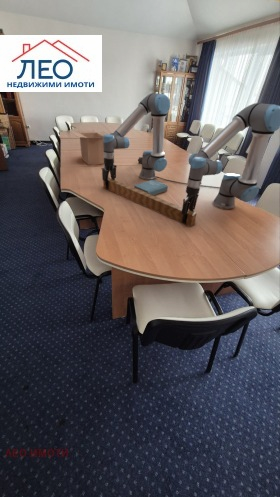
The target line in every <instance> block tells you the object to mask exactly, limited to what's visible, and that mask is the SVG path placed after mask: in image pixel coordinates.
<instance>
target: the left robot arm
mask: <svg viewBox="0 0 280 497" xmlns="http://www.w3.org/2000/svg"><path fill="white" fill-rule="evenodd" d="M170 109H171V100H170V97H168V96H167V95H166V94H163V93H156V92H151V93H149V94H147V95H146V96H145V97H143V99H141V100H140V102H139V103H138V104H137V107H136V108H135V109H134V110H133V111H132V112H131V113H130V114H129V115H128V117H126V119H125V120H124V121H123V122H122V123H121V124H120V125H119V126H118V127H117V128H116V129H115V130H114V131H113V132H110V133H107V134H105V135H104V136H103V146H104V164H103V165H104V166H103V167H100V169H101V175H102V176H101V178H102V182H103V181H105V185H106V189H105V190H108V189H109V184H108V178H109V176H110V178H111V179H113V180H116V179H117V165H116V164H115V150H123V149H124V150H126V149H128V148H129V147H130V139H129V137H126V135H127V134H128V133H129V132H130V131H131V130H132V129H133V128H134V127H135V126H136V125H137V124H138V123H139V122H140V121H141V120H142V119H143V118H144V117H145V116H147V115H148V114H150V117H151V118H152V150H144V151H143V152H142V157H143V158H142V164H141V169H140V172H139V178H140V179H142V180H146V181H150V180H156V178H158V179H161V180H163V181H167V182H172V183H176V184H177V183H178V184H182V185H187V182H186V183H185V182H180V181H174V180H170V179H166V178H163V177H159V176H157V174H156V172H159V173H161V172H163V171H164V170H165V169H166V168H167V165H168V160H167V159H166V158H165V152H164V140H165V139H164V138H165V118H166V117H167V116H168V113H169V111H170ZM109 174H110V175H109ZM200 187H205V188H215V189H220V186H212V185H202V184H201V185H200Z"/></svg>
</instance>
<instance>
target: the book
mask: <svg viewBox="0 0 280 497" xmlns="http://www.w3.org/2000/svg"><path fill="white" fill-rule="evenodd" d="M168 187H169V186H168V184H166V183H164V182H160V181H159V180H156V179H153V180H146V181H143V182H140V183H137V184H134V185H133V188H136V189H138V190H140V191H143V192H145V193H148V194H150V195H153V196H156V195H159V194H161V193H164V192H167V191H168Z"/></svg>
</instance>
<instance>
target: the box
mask: <svg viewBox="0 0 280 497" xmlns="http://www.w3.org/2000/svg"><path fill="white" fill-rule="evenodd" d="M70 133H71V134H72V135H74V136H75V137H77V138H79V144H80V153H81V160H83V162H85V163H86V165H87V166H95V165H97V166H98V165H105V164H104V146H103V136H104V135H105V134H108V132H105V131H98V132H96V131H95V130H92V129H91V130H77V132H76V131H70Z"/></svg>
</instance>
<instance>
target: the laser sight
mask: <svg viewBox="0 0 280 497" xmlns="http://www.w3.org/2000/svg"><path fill="white" fill-rule="evenodd" d="M142 158H143V156H141V157H140V156H139V157H138V159H137V162H138V164H141V165H142Z"/></svg>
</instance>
